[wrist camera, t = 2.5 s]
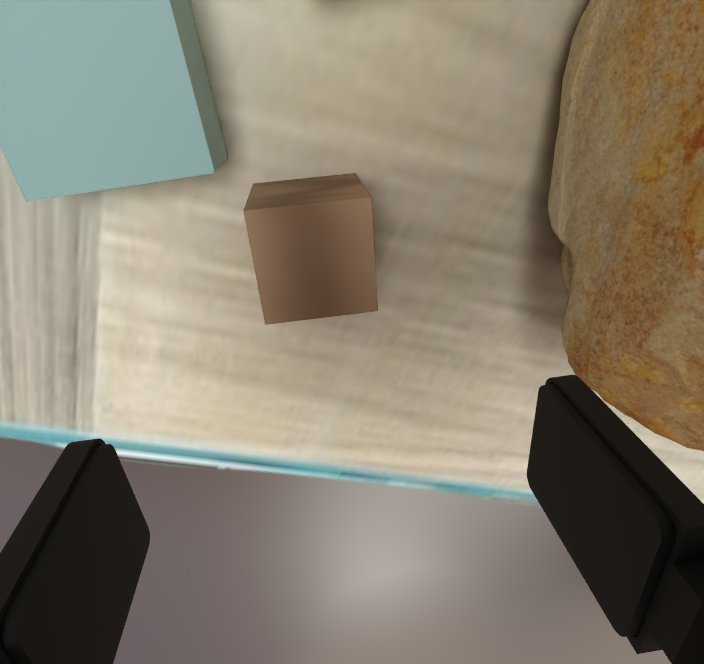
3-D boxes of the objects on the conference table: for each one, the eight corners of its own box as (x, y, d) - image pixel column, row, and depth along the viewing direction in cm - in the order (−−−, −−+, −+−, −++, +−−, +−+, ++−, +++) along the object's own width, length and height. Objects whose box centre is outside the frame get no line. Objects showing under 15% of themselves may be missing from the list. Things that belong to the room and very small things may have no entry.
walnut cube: (354, 172, 25) (371, 196, 20) (361, 267, 28) (377, 310, 23) (253, 183, 25) (243, 210, 20) (270, 278, 28) (265, 324, 22)
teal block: (181, -34, 20) (152, -66, 16) (228, 156, 24) (214, 173, 20) (-3, -9, 20) (-84, -34, 16) (74, 179, 24) (26, 202, 20)
